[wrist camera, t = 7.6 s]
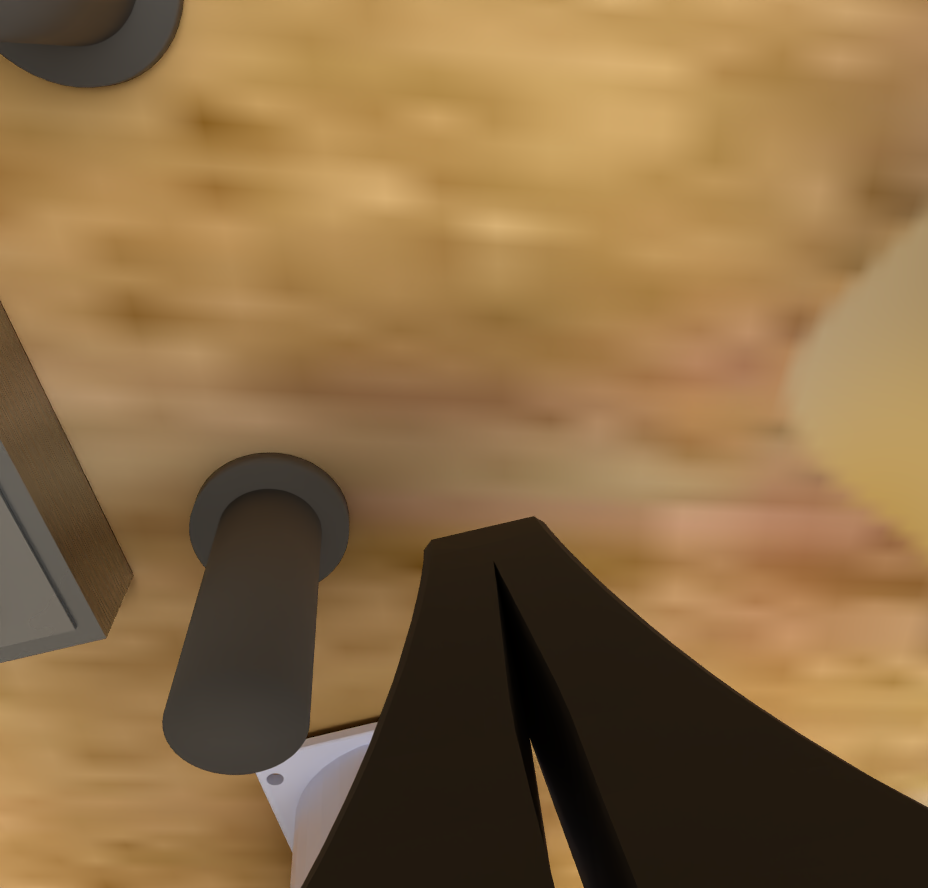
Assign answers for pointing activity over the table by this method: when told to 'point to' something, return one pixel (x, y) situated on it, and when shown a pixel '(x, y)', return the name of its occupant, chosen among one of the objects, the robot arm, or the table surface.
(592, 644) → the robot arm
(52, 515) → the panel
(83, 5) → the cord post
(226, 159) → the table surface
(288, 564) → the post
